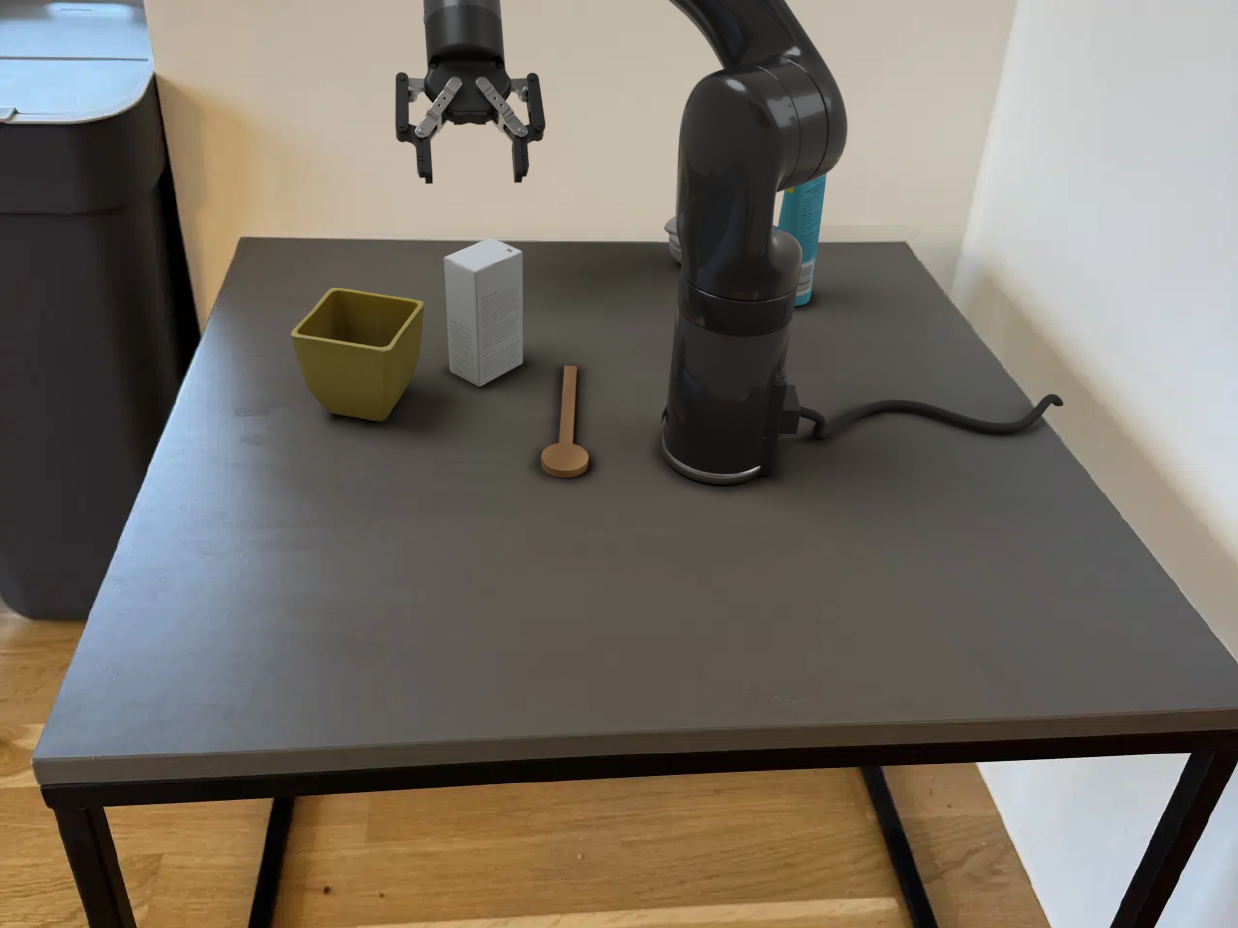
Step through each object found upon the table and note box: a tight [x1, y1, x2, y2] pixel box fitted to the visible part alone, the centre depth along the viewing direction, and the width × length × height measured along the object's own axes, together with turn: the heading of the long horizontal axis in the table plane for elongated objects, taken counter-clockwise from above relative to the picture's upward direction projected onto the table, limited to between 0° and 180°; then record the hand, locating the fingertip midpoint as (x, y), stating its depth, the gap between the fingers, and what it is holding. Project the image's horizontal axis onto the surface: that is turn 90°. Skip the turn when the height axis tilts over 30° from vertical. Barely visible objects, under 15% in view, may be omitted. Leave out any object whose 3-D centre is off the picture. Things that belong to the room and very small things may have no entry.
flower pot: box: [290, 287, 425, 422], centre depth 96 cm, size 9×9×9 cm
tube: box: [777, 173, 828, 307], centre depth 115 cm, size 7×5×19 cm, turn 152°
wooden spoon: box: [540, 365, 590, 479], centre depth 99 cm, size 4×17×1 cm, turn 0°
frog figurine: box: [663, 216, 682, 264], centre depth 124 cm, size 6×7×7 cm
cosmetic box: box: [443, 237, 524, 388], centre depth 102 cm, size 6×4×12 cm
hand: (474, 180), depth 106 cm, fingers open, 8 cm apart
